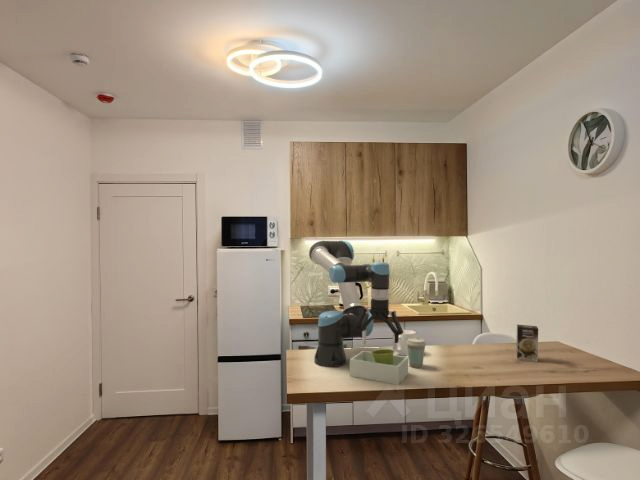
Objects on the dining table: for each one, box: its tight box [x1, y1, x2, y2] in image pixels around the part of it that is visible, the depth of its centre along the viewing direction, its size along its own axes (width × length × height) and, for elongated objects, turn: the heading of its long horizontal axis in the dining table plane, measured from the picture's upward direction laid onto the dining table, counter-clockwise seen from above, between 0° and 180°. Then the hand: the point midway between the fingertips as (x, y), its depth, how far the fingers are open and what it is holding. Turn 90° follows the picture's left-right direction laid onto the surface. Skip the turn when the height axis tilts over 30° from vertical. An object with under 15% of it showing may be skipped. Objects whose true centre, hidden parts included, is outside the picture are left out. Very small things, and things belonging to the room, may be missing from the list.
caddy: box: [349, 350, 409, 385], centre depth 171 cm, size 21×15×7 cm
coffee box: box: [515, 324, 539, 363], centre depth 195 cm, size 9×6×16 cm
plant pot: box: [371, 348, 395, 365], centre depth 171 cm, size 9×9×9 cm
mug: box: [394, 329, 418, 356], centre depth 203 cm, size 14×10×11 cm
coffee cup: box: [407, 337, 426, 369], centre depth 183 cm, size 8×8×12 cm
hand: (378, 348), depth 172 cm, fingers open, 13 cm apart
